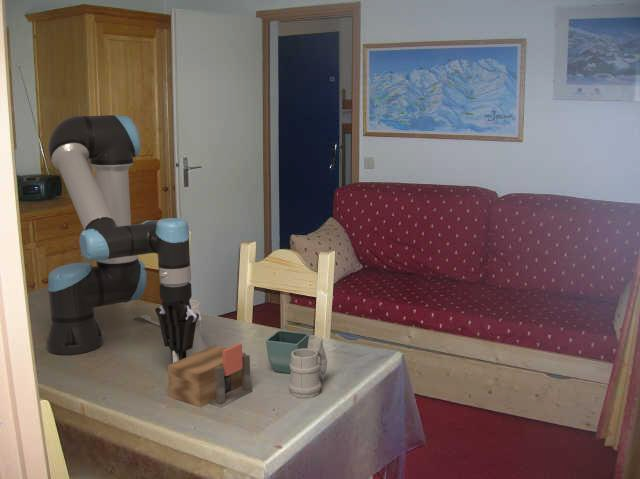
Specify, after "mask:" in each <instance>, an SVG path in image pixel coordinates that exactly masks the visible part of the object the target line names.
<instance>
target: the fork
mask: <svg viewBox="0 0 640 479" xmlns="http://www.w3.org/2000/svg"><path fill="white" fill-rule="evenodd" d="M138 317H139V318H143V320H146V321H149V322H150V323H152V324H154V325H156V326H160V323H159V322H155V321H154V320H152V316H151V315H149V314H143V315H140V316H137V317H134V318H133V320H135V319H138Z"/></svg>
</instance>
